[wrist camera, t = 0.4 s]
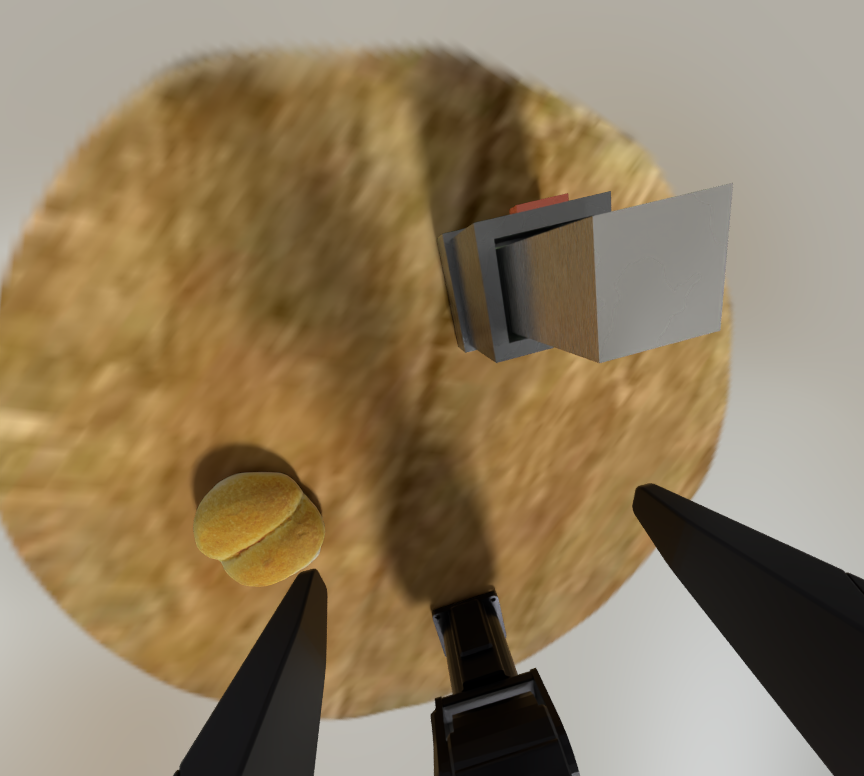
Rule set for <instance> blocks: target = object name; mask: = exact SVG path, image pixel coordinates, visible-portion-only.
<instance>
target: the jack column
mask: <svg viewBox="0 0 864 776" xmlns="http://www.w3.org/2000/svg"><path fill="white" fill-rule="evenodd" d="M732 190H733V183H730V184H726V185H722V186H718V187H713V188H709V189H705V190H701V191H697V192H693V193H688V194H684V195H680V196H675V197H671V198H667V199H663V200H659V201H654V202H650V203H646V204H642V205H638V206H633V207H629V208H625V209H621V210H617V211H612V212H608V213H604V214H600V215H595V216H592V217H589V218H586V219H583V220H580V221H577V222H574V223H571V224H568V225H565V226H562V227H559V228H556V229H554V230H551V231H548V232H545V233H542V234H539V235H536V236H533V237H530V238H527V239H524V240H521V241H518V242H515V243H512V244H509V245H506V246H502V247H497V248H495V250H496V257H497V264H498V270H499V277H500V284H501V291H502V298H503V305H504V312H505V319H506V326H507V331H510V332H513V333H515V334H518V335H521V336H524V337H527V338H530V339H532V340H535V341H538V342H541V343H544V344H547V345H549V346H552V347H555V348H558V349H561V350H564V351H566V352H569V353H572V354H575V355H578V356H581V357H583V358H586V359H589V360H592V361H595V362H598V363H602V362H606V361H609V360H613V359H617V358H620V357H624V356H628V355H631V354H635V353H639V352H642V351H646V350H650V349H654V348H657V347H661V346H665V345H668V344H672V343H676V342H679V341H683V340H687V339H691V338H694V337H698V336H702V335H705V334H709V333H713V332H716V331H720V327H721V316H722V304H723V293H724V281H725V270H726V258H727V247H728V235H729V224H730V213H731V201H732Z"/></svg>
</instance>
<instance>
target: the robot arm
mask: <svg viewBox="0 0 864 776" xmlns="http://www.w3.org/2000/svg"><path fill="white" fill-rule="evenodd" d="M632 508H633V512H634V514H635V516H636V517H637V519H638V520H639V522H640V523H641V525H642V526H643V528H644V529H645V531H646V532H647V534H648V535H649V537H650V539H651V540H652V542H653V543H654V545H655V546H656V548H657V549H658V551H659V552H660V554H661V555H662V557H663V558H664V560H665V561H666V563H667V564H668V565H669V567H670V568H671V569H672V571H673V572H674V573H675V575H676V576H677V577H678V579H679V580H680V581H681V583H682V584H683V585H684V586H685V588H686V589H687V590H688V591H689V593H690V594H691V595H692V597H693V598H694V599H695V600H696V602H697V603H698V604H699V605H700V607H701V608H702V609H703V610H704V612H705V613H706V614H707V615H708V617H709V618H710V619H711V620H712V622H713V623H714V624H715V626H716V627H717V628H718V629H719V631H720V632H721V633H722V635H723V636H724V637H725V638H726V640H727V641H728V642H729V643H730V645H731V646H732V647H733V648H734V650H735V651H736V652H737V654H738V655H739V656H740V657H741V659H742V660H743V661H744V662H745V664H746V665H747V666H748V668H749V669H750V670H751V671H752V673H753V674H754V675H755V676H756V678H757V679H758V680H759V682H760V683H761V684H762V685H763V686H764V688H765V689H766V690H767V692H768V693H769V694H770V695H771V697H772V698H773V699H774V700H775V702H776V703H777V704H778V706H779V707H780V708H781V709H782V711H783V712H784V713H785V714H786V716H787V717H788V718H789V719H790V721H791V722H792V723H793V725H794V726H795V727H796V728H797V730H798V731H799V732H800V733H801V735H802V736H803V737H804V739H805V740H806V741H807V742H808V744H809V745H810V746H811V747H812V749H813V750H814V751H815V752H816V754H817V755H818V756H819V758H820V759H821V760H822V761H823V763H824V764H825V765H826V766H827V768H828V769H829V770H830V772H831V773H832V774H833V775H834V776H864V579H862V578H859V577H857V576H855V575H853V574H851V573H845V572H844V571H843V570H842V569H839V568H837V567H835V566H833V565H831V564H828V563H826V562H824V561H822V560H820V559H818V558H815V557H813V556H811V555H809V554H806V553H805V552H802V551H800V550H798V549H795V548H793V547H791V546H789V545H787V544H785V543H782V542H780V541H778V540H776V539H774V538H772V537H769V536H767V535H765V534H763V533H761V532H759V531H756V530H754V529H752V528H750V527H747V526H745V525H743V524H741V523H739V522H737V521H734V520H732V519H730V518H728V517H726V516H723V515H721V514H719V513H717V512H714V511H712V510H710V509H708V508H706V507H704V506H702V505H699V504H697V503H695V502H693V501H691V500H689V499H686V498H684V497H682V496H680V495H678V494H675V493H673V492H671V491H669V490H667V489H664V488H662V487H660V486H658V485H656V484H652V483H649V484H644V485H641V486H638V487H637V488H636V490H635V495H634V500H633V505H632ZM432 616H433V621H434V624H435V627H436V630H437V633H438V636H439V639H440V642H441V645H442V648H443V651H444V654H445V656H446V657H447V663H448V669H449V675H450V681H451V687H452V693H453V695H449V696H446V697H443V698H442V697H438V698H435V706H436V708H435V710H434V711H433V713H432V714H431V724H432V733H433V746H434V776H580V774H579V770H578V767H577V763H576V760H575V756H574V754H573V750H572V747H571V745H570V742H569V739H568V736H567V734H566V731H565V729H564V726H563V724H562V722H561V720H560V717H559V715H558V713H557V711H556V709H555V707H554V705H553V703H552V701H551V698H550V696H549V694H548V692H547V690H546V688H545V686H544V684H543V681H542V679H541V677H540V675H539V673H538V671H537V669H536V668H534V669H531V670H530V671H529V672H526V673H522V674H519V675H518V674H517V671H516V668H515V665H514V662H513V659H512V656H511V653H510V650H509V647H508V645H507V642H506V639H505V638H506V631H505V627H504V622H503V618H502V613H501V609H500V604H499V599H498V596H497V594H496V593H495V592H490V593H487V594H484V595H481V596H478V597H475V598H471V599H468V600H465V601H462V602H459V603H455V604H452V605H449V606H446V607H443V608H440V609H436V610H434V611H433V613H432ZM326 647H327V588H326V585H325V583H324V581H323V580H322V578H321V576H320V574H319V572H318V570H316V569H310V570H307V571H303V572H301V573H299V574H298V576H297V577H296V579H295V580H294V582H293V584H292V585H291V587H290V588H289V590H288V592H287V593H286V595H285V596H284V598H283V600H282V601H281V603H280V604H279V606H278V608H277V609H276V611H275V613H274V614H273V616H272V617H271V619H270V621H269V622H268V624H267V625H266V627H265V629H264V630H263V632H262V633H261V635H260V637H259V638H258V640H257V642H256V643H255V645H254V646H253V648H252V650H251V651H250V653H249V654H248V656H247V658H246V659H245V661H244V662H243V664H242V666H241V667H240V669H239V670H238V672H237V674H236V675H235V677H234V679H233V680H232V682H231V683H230V685H229V687H228V688H227V690H226V691H225V693H224V695H223V696H222V698H221V699H220V701H219V703H218V704H217V706H216V708H215V709H214V711H213V712H212V714H211V716H210V717H209V719H208V721H207V722H206V724H205V725H204V727H203V728H202V730H201V732H200V733H199V735H198V737H197V738H196V740H195V741H194V743H193V745H192V746H191V748H190V749H189V751H188V753H187V755H186V756H185V758H184V759H183V761H182V762H181V764H180V769H179V770H177V771H176V772H175V773H174V775H173V776H314V769H315V759H316V751H317V742H318V733H319V724H320V715H321V706H322V698H323V689H324V680H325V669H326Z"/></svg>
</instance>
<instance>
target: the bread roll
mask: <svg viewBox="0 0 864 776" xmlns="http://www.w3.org/2000/svg"><path fill="white" fill-rule="evenodd" d="M193 530H194V537H195V542H196V545H197V547H198V549H199V550H200V551H201V552H202V553H203V554H205V555H206V556H208V557H210V558H213V559H218V560H219V561H220V562H221V563H222V565H223V567H224V569H225V571H226V572H227V573H228V575H229V576H230V577H231V578H233V579H234V580H236V581H237V582H239V583H240V584H242V585H246V586H258V587H259V586H268V585H271V584H274V583H277V582H279V581H282V580H284V579H286V578H287V577H289V576H291V575H293V574H295V573H297V572H298V571H299V570H301V569H303V568H305V567H306V566H308V565H309V564H310V563H311V562H312V561H313V560H315V559H316V558H317V556H318V555H319V552H320V548H321V545H322V543H323V540H324V536H325V525H324V522H323V519H322V516H321V514H320V513H319V511H318V509H317V507H316V506H315V505H314V504H313V503H312V502H311V501H310V500H309V498H308V497H307V496H306V495H305V494H304V493H303V492H302V490H301V488H300V487H299V486H298V484H297V483H296V482H295V481H294V480H293V479H292V478H290V477H289V476H288V475H285V474H282V473H278V472H245V473H238V474H234V475H232V476H229V477H227V478H225V479H223V480H222V481H220V482H219V483H217V484H216V485H215V486H214V487H213V489H211V490H210V491H209V492H208V494H207V495H206V496H205V497H204V498H203V500H202V501H201V503H200V504H199V506H198V508H197V511H196V515H195V518H194V524H193Z"/></svg>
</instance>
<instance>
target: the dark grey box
mask: <svg viewBox="0 0 864 776" xmlns="http://www.w3.org/2000/svg"><path fill="white" fill-rule="evenodd" d="M509 211H510V215H506V216H502V217H497V218H493V219H489V220H485V221H480V222H476V223H473V224H471V225H470V226H469V227H467V228H465V229H461V230H457V231H452V232H448V233H444V234H442V235H440V236H439V237H438V238H437V242H438V247H439V252H440V257H441V262H442V267H443V272H444V277H445V282H446V287H447V292H448V297H449V302H450V307H451V312H452V317H453V322H454V327H455V332H456V337H457V342H458V347H459V348H460V349H462V350H463V351H464V352H465V353H466V352H470V351H474V350H478V351H479V352H481V353H482V354H484V355H485V356H487V357H488V358H490V359H491V360H493V361H494V362H496V363H497V362H501V361H505V360H509V359H513V358H516V357H520V356H524V355H528V354H531V353H535V352H539V351H543V350H547V349H550V348H554V347H552V346H549V345H547V344H544V343H541V342H538V341H535V340H532V339H530V338H527V337H524V336H521V335H518V334H515V333H513V332H510V331H507V326H506V319H505V312H504V305H503V298H502V291H501V284H500V277H499V270H498V264H497V257H496V250H495V248H497V247H502V246H506V245H509V244H512V243H515V242H518V241H521V240H524V239H527V238H530V237H533V236H536V235H539V234H542V233H545V232H548V231H551V230H554V229H556V228H559V227H562V226H565V225H568V224H571V223H574V222H577V221H580V220H583V219H586V218H589V217H592V216H595V215H600V214H604V213H608V212H611V191H609V192H605V193H601V194H596V195H592V196H588V197H583V198H579V199H575V200H571V201H569V198H568V193H567V194H563V195H559V196H554V197H550V198H546V199H541V200H537V201H533V202H528V203H524V204H520V205H516V206H514V207H513V208H511V209H509Z"/></svg>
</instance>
